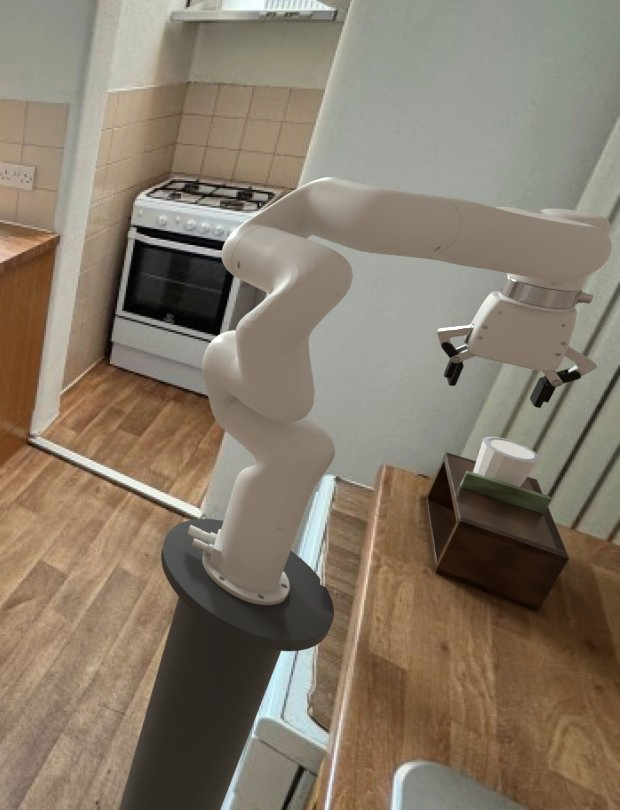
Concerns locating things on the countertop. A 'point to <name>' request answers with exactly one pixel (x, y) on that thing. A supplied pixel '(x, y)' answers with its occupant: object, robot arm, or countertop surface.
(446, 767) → the countertop surface
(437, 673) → the countertop surface
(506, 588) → the tray
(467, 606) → the countertop surface
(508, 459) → the white cylinder
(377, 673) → the countertop surface
